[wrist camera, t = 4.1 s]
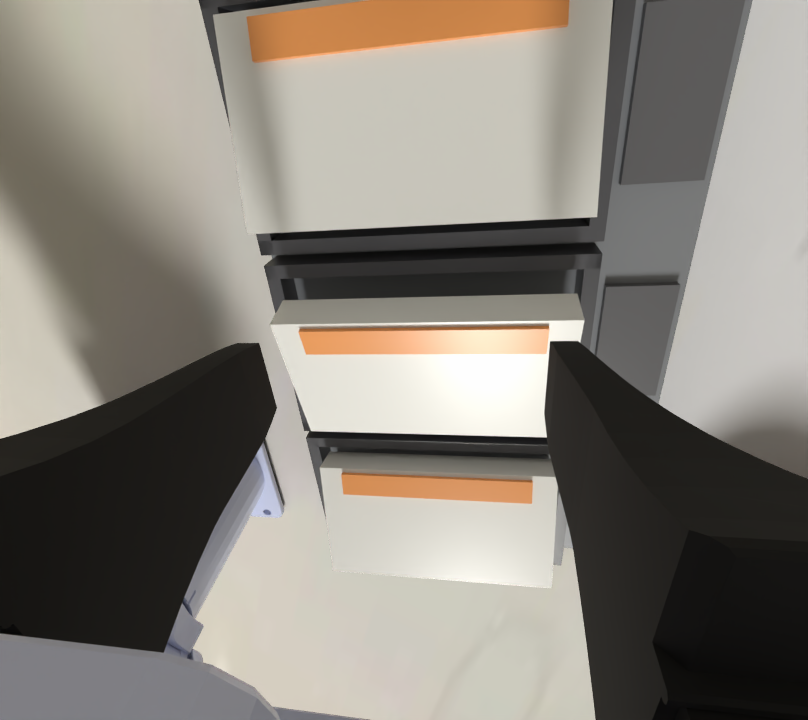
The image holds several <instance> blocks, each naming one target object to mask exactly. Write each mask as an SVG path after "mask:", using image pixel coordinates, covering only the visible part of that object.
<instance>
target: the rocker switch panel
mask: <svg viewBox="0 0 808 720" xmlns="http://www.w3.org/2000/svg"><path fill="white" fill-rule="evenodd" d="M310 1H317V0H199V3H200V7H201V11H202V15H203V19H204V23H205V28H206V32H207V36H208V40H209V44H210V48H211V52H212V56H213V60H214V64H215V68H216V72H217V76H218V81H219V85H220V89H221V93H222V97H223V101H224V105H225V109H226V113H227V117H228V121H229V116H228V110H227V104H226V97H225V91H224V84H223V78H222V71H221V65H220V58H219V52H218V45H217V39H216V32H215V26H214V19H213V15H215V14H222V13H229V12H237V11H244V10H251V9H259V8H266V7H273V6H281V5H288V4H295V3H302V2H310ZM751 4H752V0H613V7H612V21H611V35H610V48H609V62H608V75H607V89H606V102H605V116H604V129H603V143H602V157H601V170H600V184H599V197H598V211H597V217H588V218H568V219H548V220H527V221H507V222H487V223H467V224H446V225H426V226H406V227H386V228H365V229H345V230H325V231H305V232H284V233H264V234H256V235H257V240H258V244H259V248H260V252H261V255H272V260H271V261H270V262H268V263H267V264H266V265H265V266H264V268H265V272H266V276H267V280H268V284H269V288H270V293H271V297H272V301H273V305H274V309H275V313H276V312H277V310H278V308H279V307H280V305H281V303H282V301H283V300H318V299H361V298H403V297H446V296H489V295H532V294H575V293H577V294H578V298H579V301H580V305H581V309H582V313H583V316H584V326H583V331H582V336H581V342H580V343H581V344H582V345H584V346H585V347H586V348H587V349H588V350H590V351H591V352H592V353H593V354H594V355H595V356H597V357H598V358H599V359H600V360H601V361H602V362H604V363H605V364H606V365H607V366H608V367H610V368H611V369H612V370H613V371H614V372H616V373H617V374H618V375H619V376H621V377H622V378H623V379H624V380H626V381H627V382H628V383H630V384H631V385H632V386H634V387H635V388H636V389H638V390H639V391H640V392H642V393H643V394H645V395H646V396H647V397H649V398H650V399H652V400H653V401H655V402H656V403H659V399H660V394H661V390H662V386H663V382H664V377H665V373H666V369H667V364H668V360H669V356H670V352H671V347H672V343H673V339H674V334H675V330H676V326H677V322H678V317H679V313H680V309H681V304H682V300H683V296H684V292H685V287H686V283H687V279H688V274H689V270H690V266H691V261H692V257H693V253H694V249H695V244H696V240H697V236H698V231H699V227H700V223H701V219H702V214H703V210H704V206H705V201H706V197H707V193H708V189H709V184H710V180H711V176H712V171H713V167H714V163H715V159H716V154H717V150H718V146H719V141H720V137H721V133H722V129H723V124H724V120H725V116H726V111H727V107H728V103H729V99H730V94H731V90H732V86H733V81H734V77H735V73H736V68H737V64H738V60H739V56H740V51H741V47H742V43H743V38H744V34H745V30H746V26H747V21H748V17H749V13H750V8H751ZM229 125H230V123H229ZM294 390H295V388H294ZM295 395H296V399H297V403H298V407H299V411H300V415H301V419H302V423H303V427H304V431H309V433H308V435H307V437H306V439H307V443H308V448H309V452H310V456H311V460H312V464H313V468H314V472H315V476H316V480H317V484H318V488H319V492H320V496H321V501H322V505H323V509H324V513H325V506H324V498H323V490H322V482H321V474H320V466H321V465H322V463H323V461H324V460H325V458H326V457H327V455H328V453H329V452H359V453H388V454H417V455H446V456H476V457H505V458H534V459H551V457H550V453H549V449H548V442H547V437H510V436H472V435H435V434H397V433H360V432H322V431H311V430H310V427H309V424H308V422H307V419H306V417H305V414H304V412H303V409H302V406H301V404H300V401H299V399H298V396H297V394H296V391H295ZM325 517H326V514H325ZM563 548H573V545H572V541H571V536H570V531H569V527H568V523H567V519H566V516H565V512H564V508H563V504H562V500H561V496H560V493H559V489H558V492H557V509H556V526H555V543H554V560H553V565H561V563H562V556H563Z"/></svg>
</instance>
